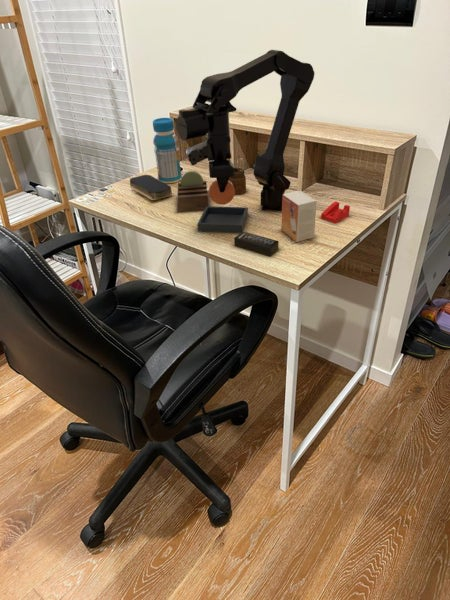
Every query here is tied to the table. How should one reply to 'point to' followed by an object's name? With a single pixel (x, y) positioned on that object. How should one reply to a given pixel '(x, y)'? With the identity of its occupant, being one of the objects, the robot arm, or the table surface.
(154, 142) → the beverage bottle
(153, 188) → the black sponge
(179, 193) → the rack
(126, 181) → the table surface
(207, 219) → the tray
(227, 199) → the terracotta disc
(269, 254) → the multiport hub
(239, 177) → the utensil holder
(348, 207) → the bracket
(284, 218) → the small box
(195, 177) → the sage disc
